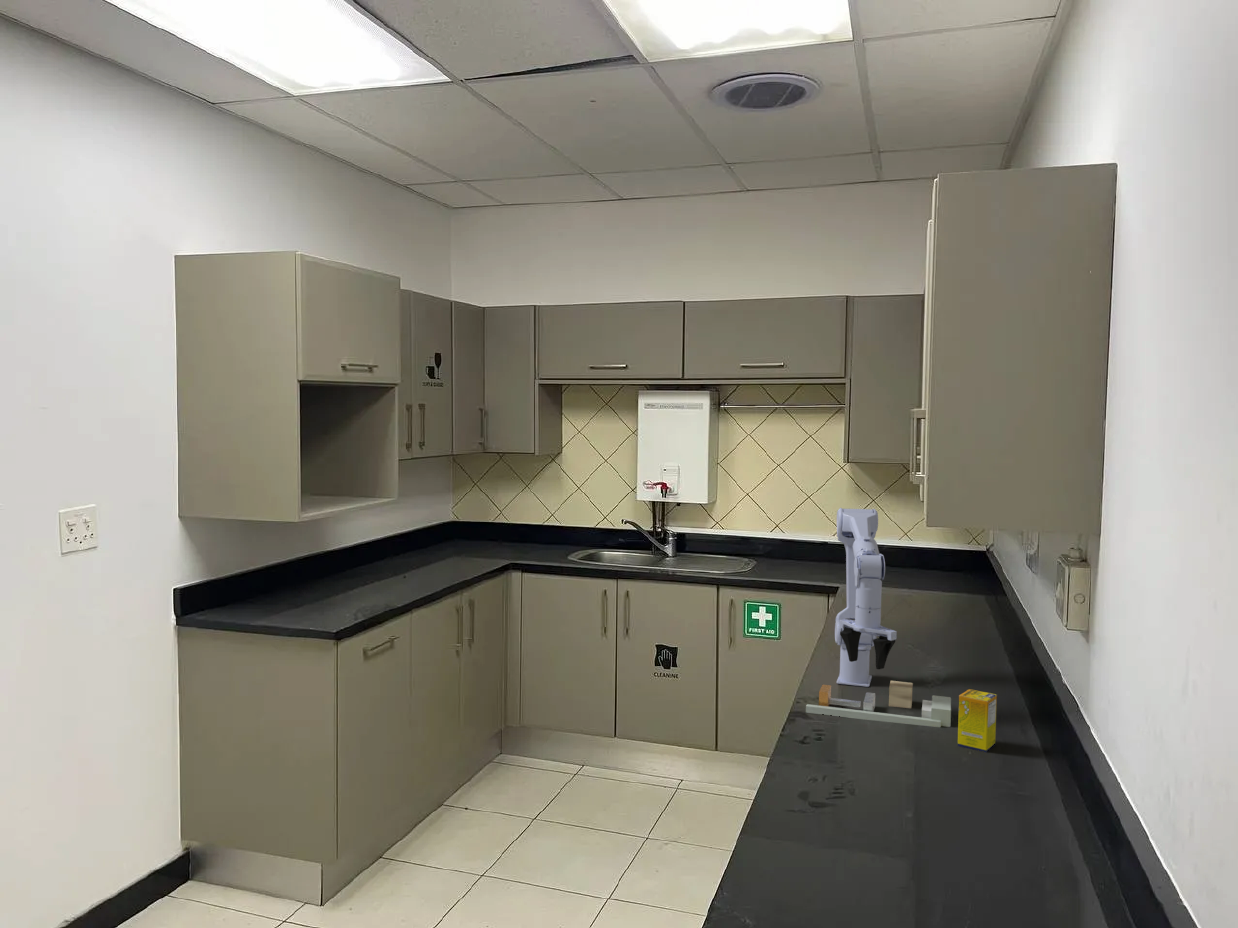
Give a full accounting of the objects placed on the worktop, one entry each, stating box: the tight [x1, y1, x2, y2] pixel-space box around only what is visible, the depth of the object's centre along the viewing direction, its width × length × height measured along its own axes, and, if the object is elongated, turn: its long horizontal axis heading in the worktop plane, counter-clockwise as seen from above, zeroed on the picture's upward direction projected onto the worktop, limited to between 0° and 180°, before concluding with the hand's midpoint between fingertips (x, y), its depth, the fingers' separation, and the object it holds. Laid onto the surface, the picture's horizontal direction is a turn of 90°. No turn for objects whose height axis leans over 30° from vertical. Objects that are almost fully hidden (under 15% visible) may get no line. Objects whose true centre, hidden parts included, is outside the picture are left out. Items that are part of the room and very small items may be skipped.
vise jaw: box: [818, 684, 876, 712], centre depth 213 cm, size 8×12×4 cm, turn 70°
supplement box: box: [957, 688, 998, 753], centre depth 189 cm, size 6×6×11 cm
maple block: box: [888, 680, 914, 709], centre depth 216 cm, size 5×5×5 cm
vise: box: [805, 695, 952, 728], centre depth 210 cm, size 11×31×4 cm, turn 70°
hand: (866, 664), depth 213 cm, fingers open, 7 cm apart
